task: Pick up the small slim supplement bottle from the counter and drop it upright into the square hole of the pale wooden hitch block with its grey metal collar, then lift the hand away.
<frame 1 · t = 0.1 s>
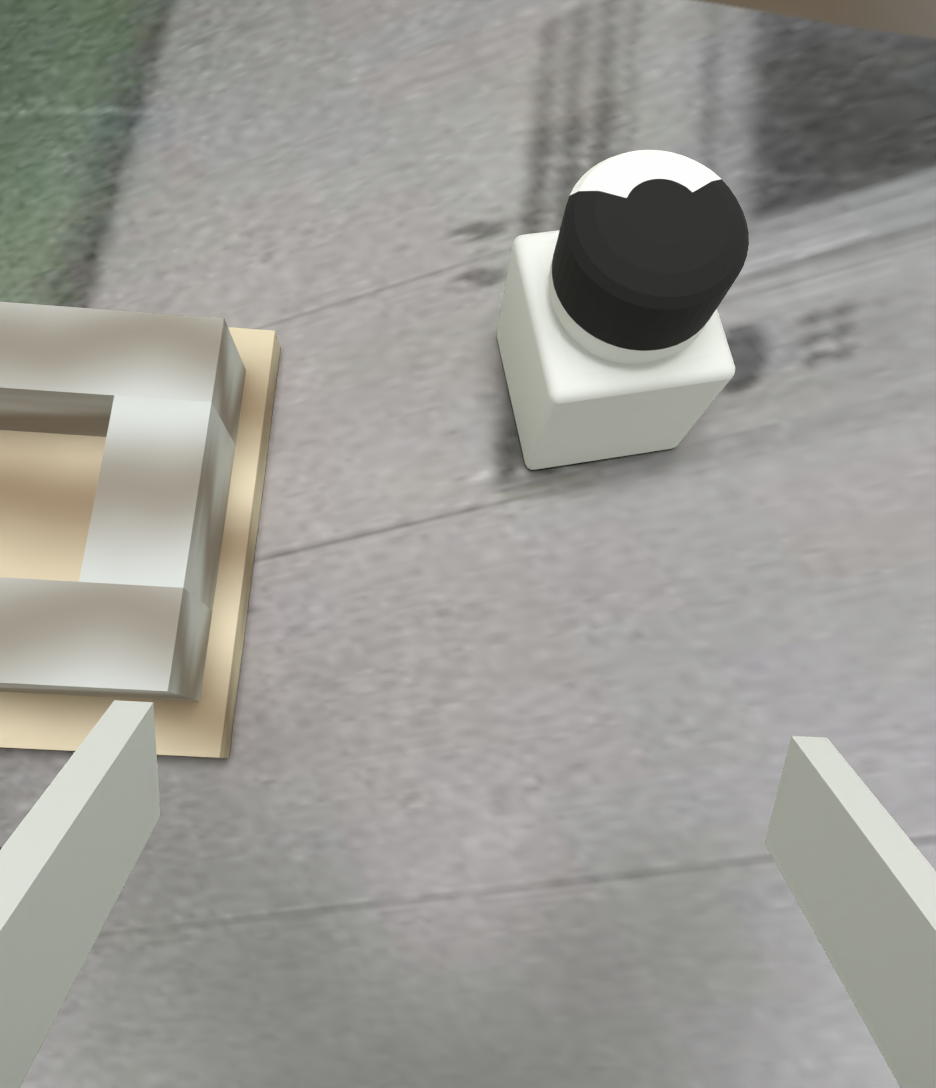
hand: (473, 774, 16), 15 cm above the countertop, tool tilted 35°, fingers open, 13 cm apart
medicine bottle: (584, 392, 36), on the countertop
hitch block: (63, 525, 33), on the countertop
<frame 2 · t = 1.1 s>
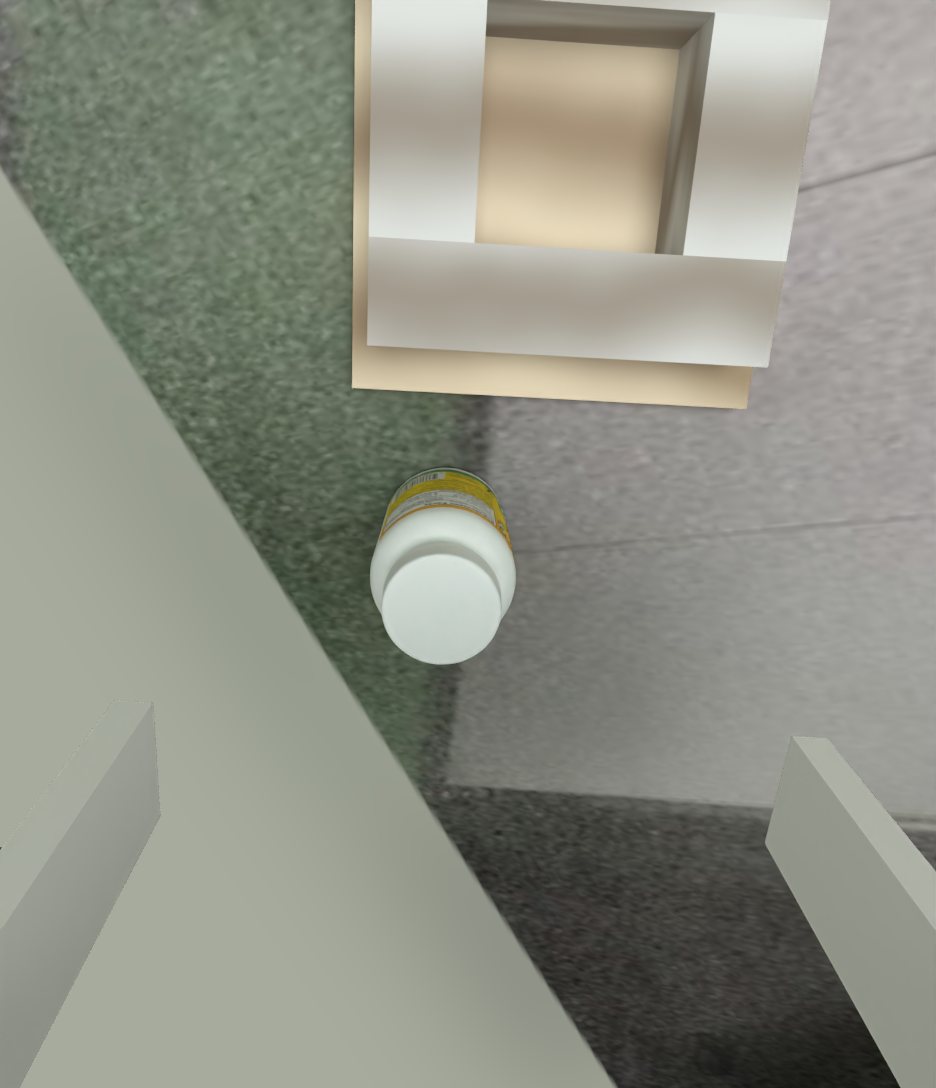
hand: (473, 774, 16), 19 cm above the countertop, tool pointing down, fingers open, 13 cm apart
supplement bottle: (445, 523, 35), on the countertop
hitch block: (566, 158, 30), on the countertop
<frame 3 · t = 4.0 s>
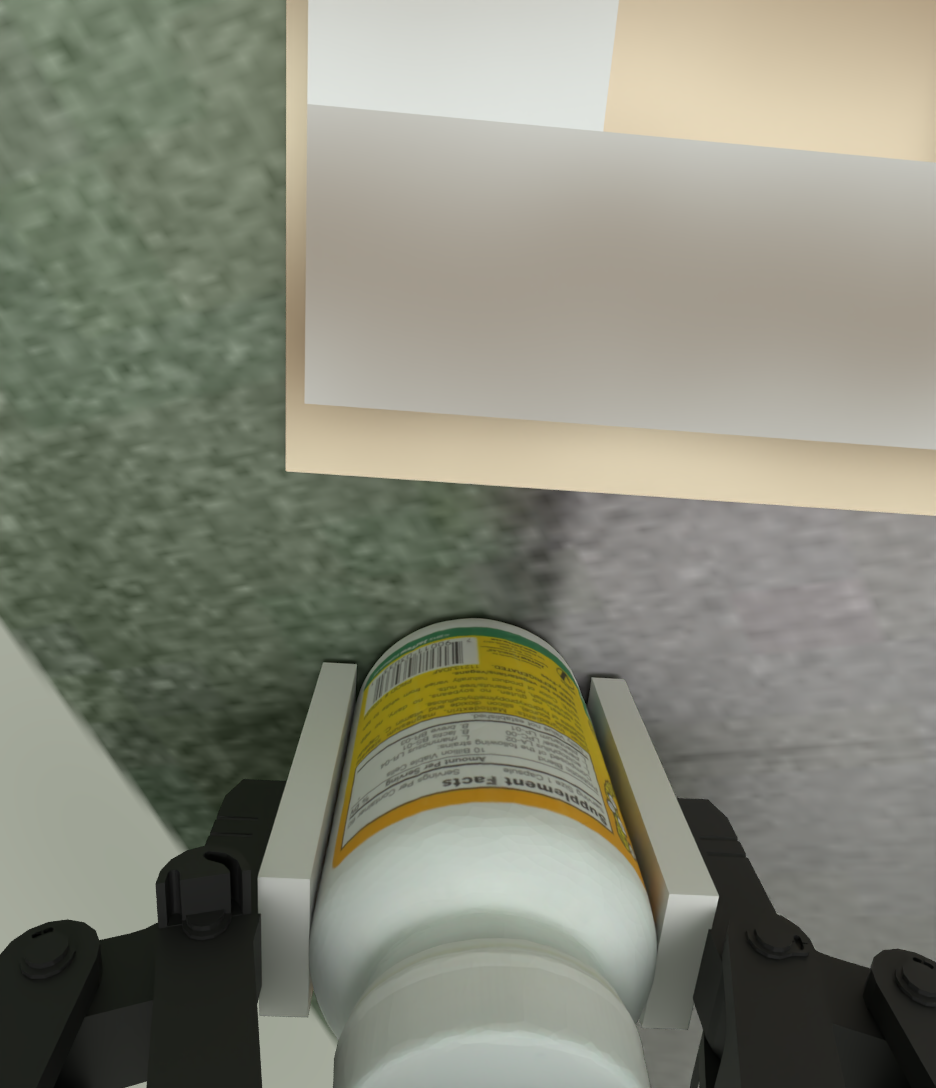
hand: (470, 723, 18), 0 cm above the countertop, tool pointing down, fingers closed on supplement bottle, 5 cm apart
supplement bottle: (469, 711, 18), on the countertop, touching gripper
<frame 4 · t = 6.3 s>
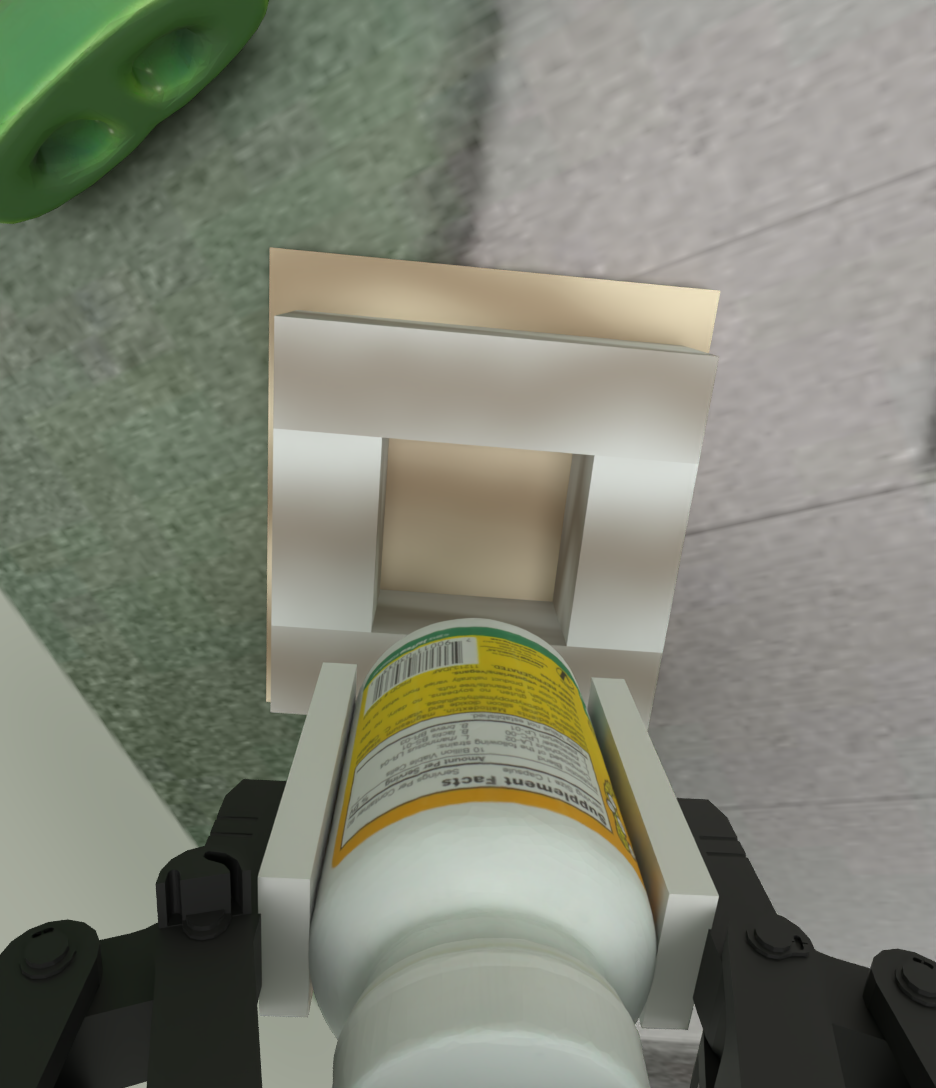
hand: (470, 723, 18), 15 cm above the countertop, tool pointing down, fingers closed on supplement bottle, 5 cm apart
supplement bottle: (469, 711, 18), point 15 cm above the countertop, touching gripper
hitch block: (473, 502, 32), on the countertop
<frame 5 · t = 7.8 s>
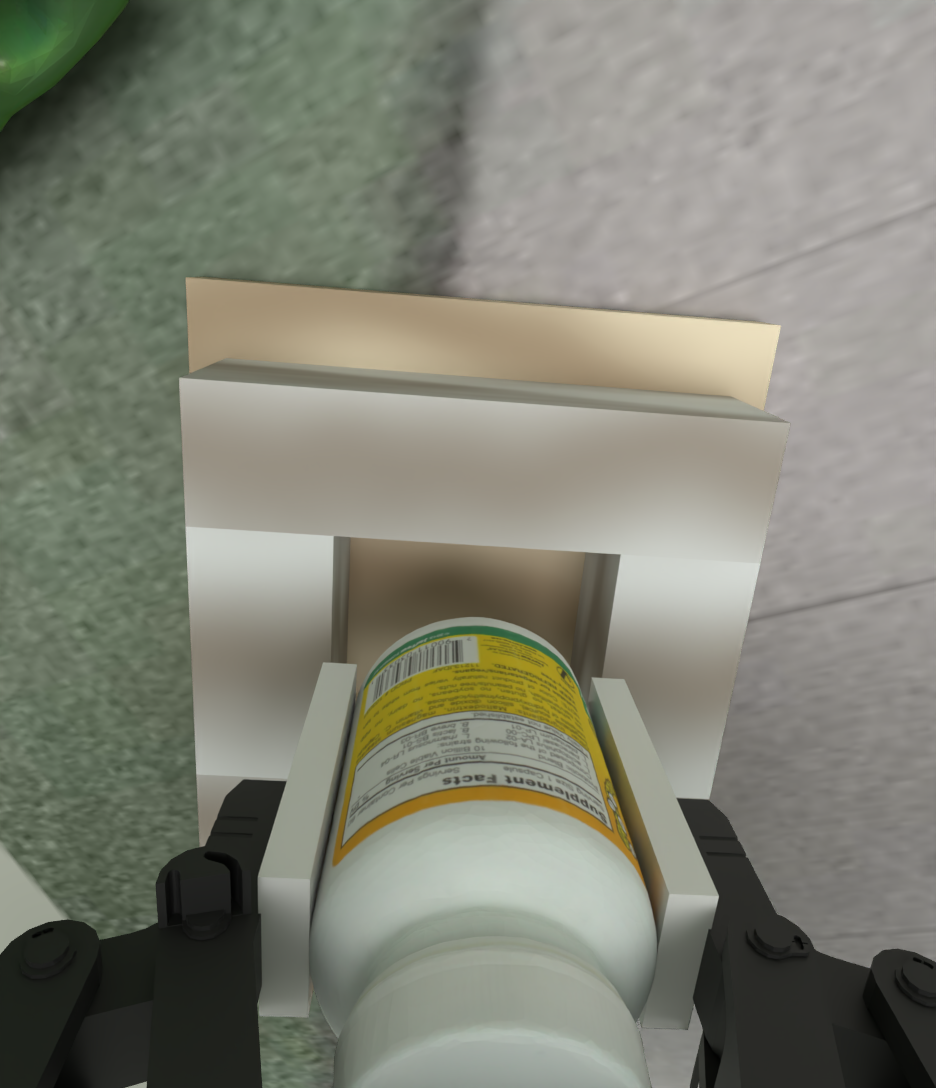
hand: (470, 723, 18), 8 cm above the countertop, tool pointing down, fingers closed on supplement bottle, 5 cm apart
supplement bottle: (469, 710, 18), point 7 cm above the countertop, touching gripper
hitch block: (462, 589, 25), on the countertop
when the fingers open (8 cm above the countertop, at t = 8.7 s): supplement bottle drops 6 cm, resting on hitch block.
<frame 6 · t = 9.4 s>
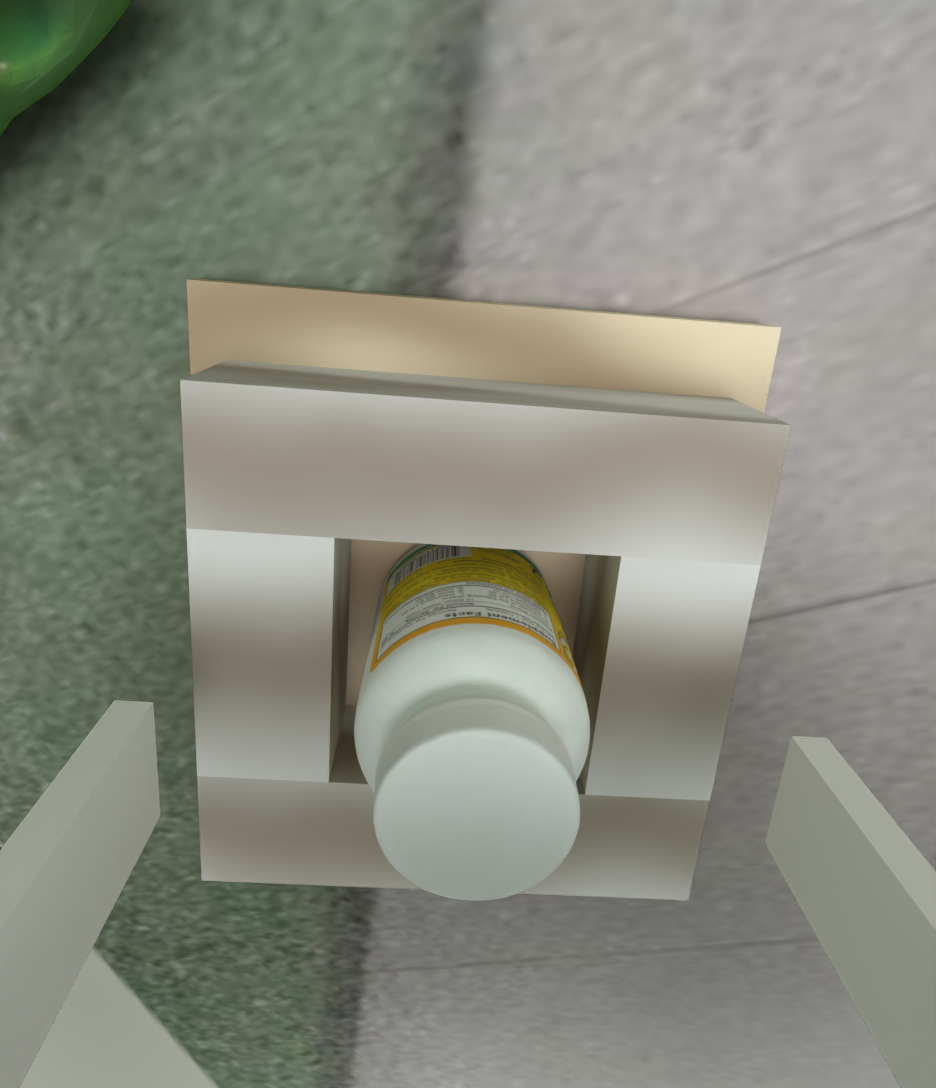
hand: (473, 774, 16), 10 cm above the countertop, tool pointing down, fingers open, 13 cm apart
supplement bottle: (464, 608, 24), point 1 cm above the countertop, touching hitch block
hitch block: (463, 591, 25), on the countertop
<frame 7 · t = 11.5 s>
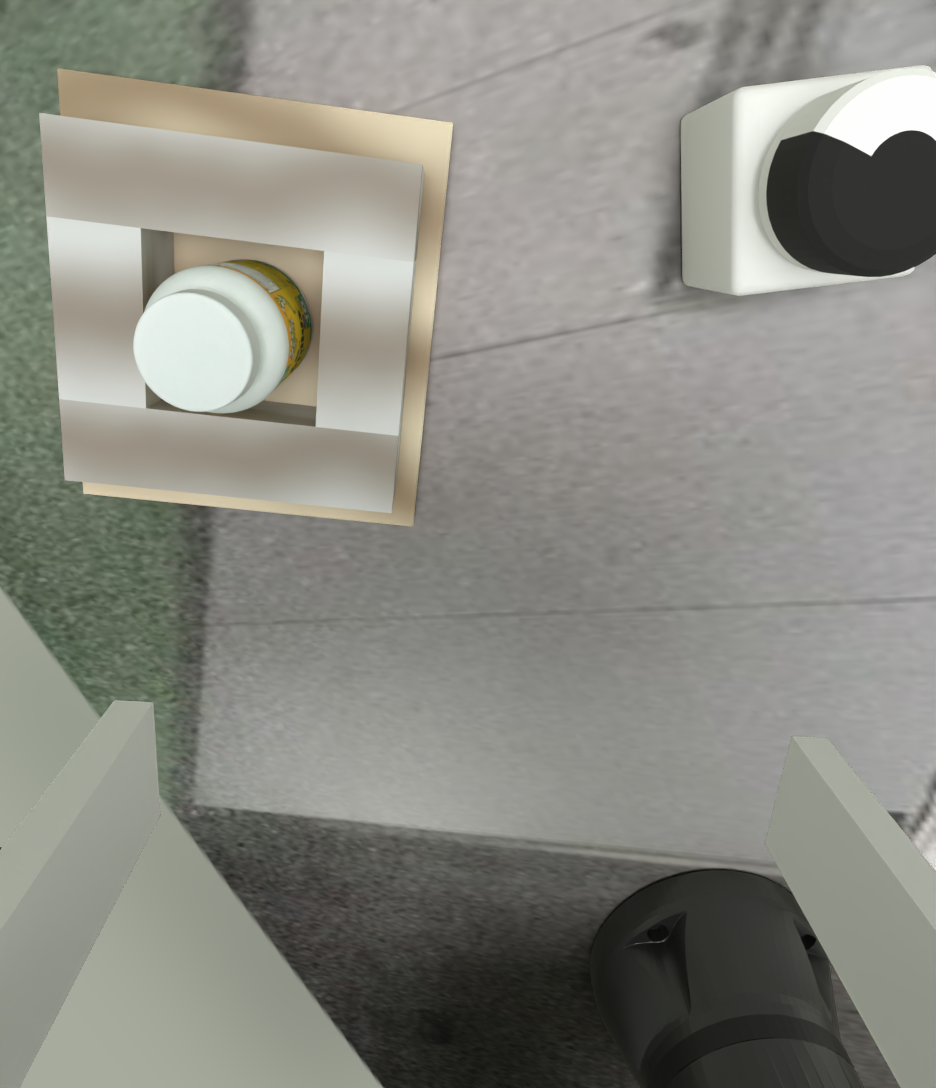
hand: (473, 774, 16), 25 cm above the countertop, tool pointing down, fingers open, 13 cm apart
medicine bottle: (756, 195, 36), on the countertop
supplement bottle: (255, 322, 35), point 1 cm above the countertop, touching hitch block
hitch block: (261, 318, 37), on the countertop
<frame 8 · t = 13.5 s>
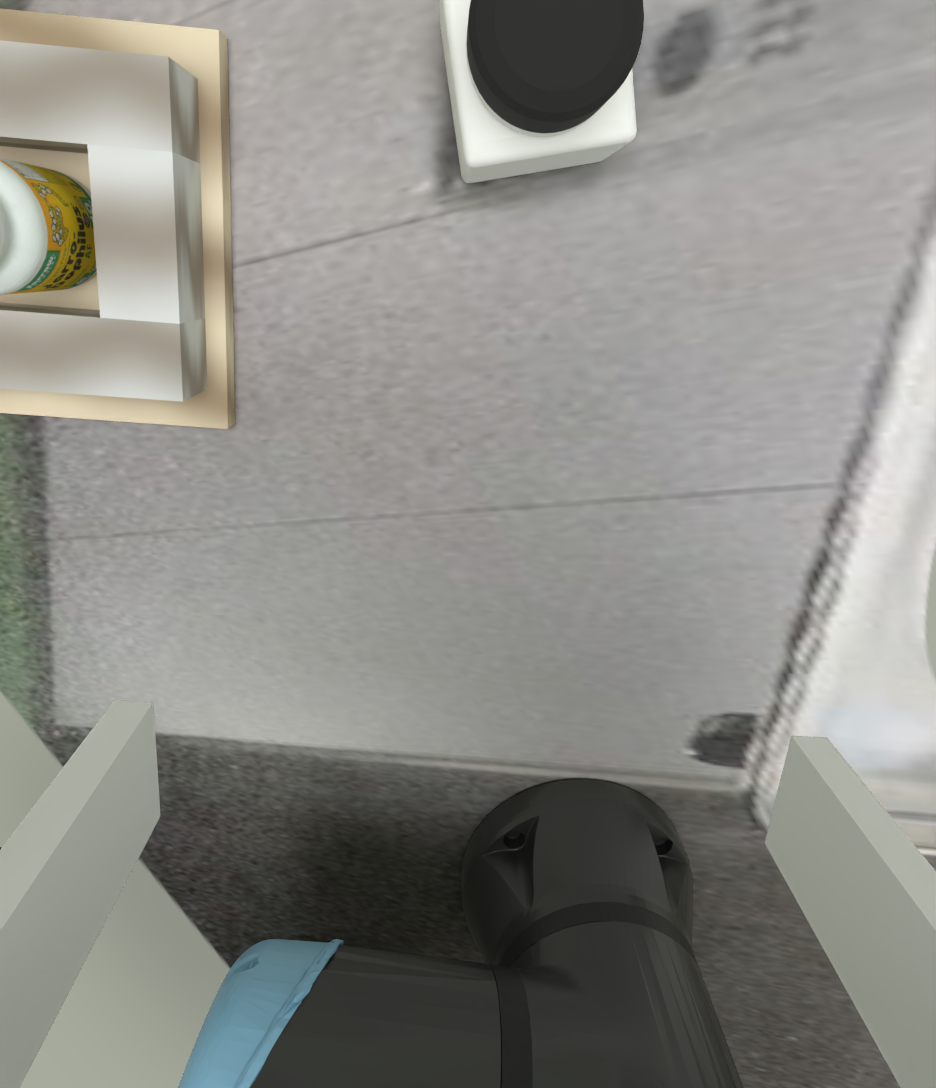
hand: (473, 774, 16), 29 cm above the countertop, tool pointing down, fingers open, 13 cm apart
medicine bottle: (524, 93, 38), on the countertop
supplement bottle: (57, 231, 38), point 1 cm above the countertop, touching hitch block
hitch block: (68, 232, 39), on the countertop
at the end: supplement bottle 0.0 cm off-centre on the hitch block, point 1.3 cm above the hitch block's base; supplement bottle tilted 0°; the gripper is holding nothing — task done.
